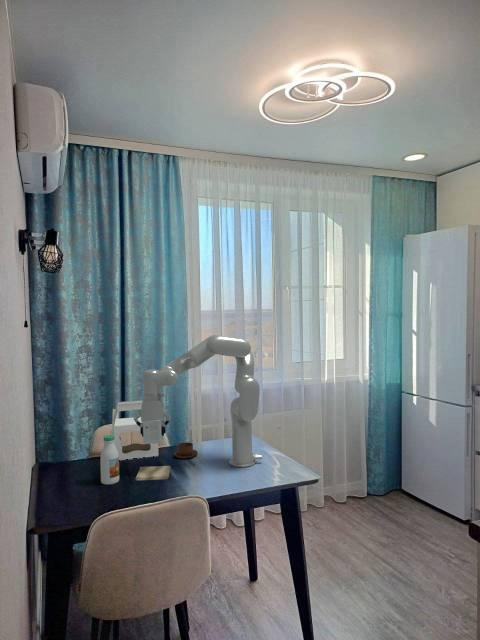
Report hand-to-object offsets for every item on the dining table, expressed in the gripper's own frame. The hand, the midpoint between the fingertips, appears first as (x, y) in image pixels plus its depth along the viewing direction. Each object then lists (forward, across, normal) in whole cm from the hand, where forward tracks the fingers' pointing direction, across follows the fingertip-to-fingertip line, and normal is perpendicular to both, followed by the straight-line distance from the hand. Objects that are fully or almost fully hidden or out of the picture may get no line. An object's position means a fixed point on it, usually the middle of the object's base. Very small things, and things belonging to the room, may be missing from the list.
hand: (153, 435), depth 210 cm
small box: (+3, 0, 0) cm, 3 cm away
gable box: (+18, +13, -30) cm, 38 cm away
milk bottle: (+18, +18, +7) cm, 26 cm away
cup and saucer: (+18, -13, -25) cm, 33 cm away
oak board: (+18, 0, 0) cm, 18 cm away
